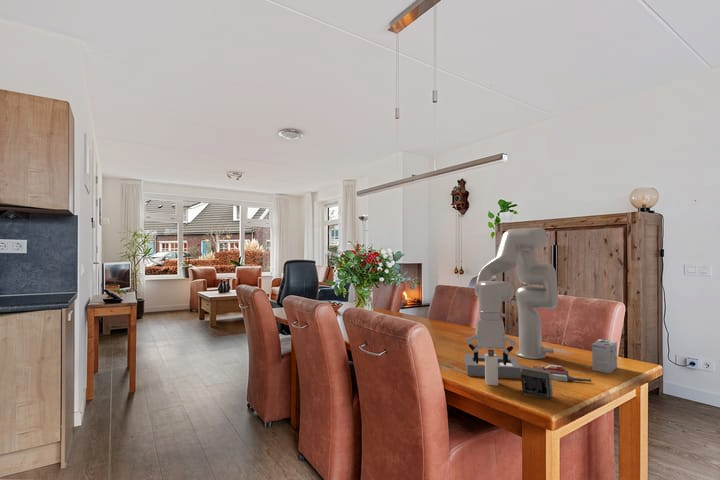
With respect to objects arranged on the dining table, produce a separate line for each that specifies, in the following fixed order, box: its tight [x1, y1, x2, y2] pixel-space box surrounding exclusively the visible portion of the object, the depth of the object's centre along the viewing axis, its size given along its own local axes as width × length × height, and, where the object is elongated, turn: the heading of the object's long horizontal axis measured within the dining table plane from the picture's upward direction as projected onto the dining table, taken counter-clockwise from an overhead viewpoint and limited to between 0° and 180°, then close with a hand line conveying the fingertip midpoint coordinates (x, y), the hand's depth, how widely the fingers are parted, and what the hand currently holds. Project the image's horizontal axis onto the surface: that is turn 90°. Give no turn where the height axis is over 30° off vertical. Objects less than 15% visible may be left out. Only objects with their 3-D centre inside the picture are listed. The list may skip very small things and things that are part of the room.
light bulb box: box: [591, 338, 618, 374], centre depth 153 cm, size 11×7×11 cm, turn 134°
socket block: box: [464, 353, 522, 380], centre depth 151 cm, size 20×16×4 cm
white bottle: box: [484, 348, 499, 386], centre depth 137 cm, size 4×4×12 cm
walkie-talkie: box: [532, 364, 592, 383], centre depth 143 cm, size 9×4×20 cm
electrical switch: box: [520, 365, 554, 400], centre depth 125 cm, size 9×5×9 cm, turn 51°
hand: (490, 363), depth 137 cm, fingers open, 9 cm apart
